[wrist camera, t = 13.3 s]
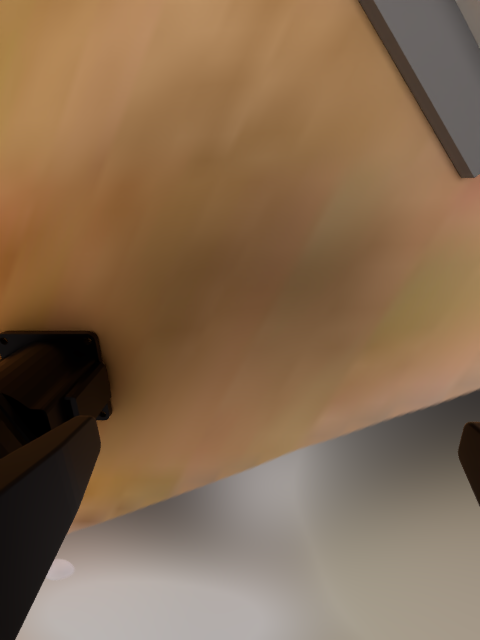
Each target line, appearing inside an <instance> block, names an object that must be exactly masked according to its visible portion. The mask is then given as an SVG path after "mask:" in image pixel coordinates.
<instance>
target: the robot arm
mask: <svg viewBox="0 0 480 640" xmlns="http://www.w3.org/2000/svg"><path fill="white" fill-rule="evenodd" d="M4 338H6V339H7V341H8V342H7V341H6V340H5V339H4ZM86 338H90V339H91V342H89V341H88V340H87V339H86ZM0 354H1V357H2V359H1V360H0V640H15V639H16V637H17V635H18V633H19V631H20V629H21V627H22V625H23V623H24V620H25V618H26V616H27V614H28V612H29V610H30V608H31V606H32V604H33V602H34V600H35V598H36V596H37V593H38V592H39V590H40V587H41V586H42V583H43V581H44V579H45V577H46V575H47V573H48V571H49V569H50V567H51V565H52V563H53V561H54V559H55V557H56V555H57V553H58V551H59V548H60V546H61V544H62V542H63V540H64V538H65V536H66V534H67V532H68V530H69V528H70V526H71V524H72V522H73V520H74V518H75V515H76V513H77V511H78V509H79V506H80V504H81V501H82V499H83V496H84V493H85V490H86V488H87V485H88V482H89V479H90V477H91V474H92V471H93V469H94V466H95V463H96V460H97V458H98V455H99V452H100V448H101V441H100V436H99V432H98V427H97V422H96V420H107V419H108V418H109V417H110V415H111V414H112V409H111V404H110V398H111V392H110V386H109V381H108V376H107V371H106V366H105V364H104V363H103V362H102V357H101V351H100V346H99V341H98V337H97V335H96V334H95V333H93V332H90V331H6V332H2V333H1V334H0ZM102 411H104V412H105V413H106V414H104V413H102ZM458 456H459V460H460V462H461V465H462V467H463V469H464V471H465V474H466V476H467V478H468V481H469V483H470V485H471V488H472V490H473V492H474V494H475V497H476V499H477V501H478V503H479V506H480V422H468V423H466V424H465V426H464V429H463V432H462V436H461V440H460V445H459V449H458Z"/></svg>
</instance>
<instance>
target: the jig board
mask: <svg viewBox="0 0 480 640" xmlns="http://www.w3.org/2000/svg"><path fill="white" fill-rule="evenodd" d="M359 2H360V4H361V5H362V7H363V9H364V11H365V12H366V14H367V16H368V18H369V19H370V21H371V23H372V24H373V26H374V28H375V30H376V31H377V33H378V35H379V36H380V38H381V40H382V42H383V43H384V45H385V47H386V49H387V50H388V52H389V54H390V55H391V57H392V59H393V61H394V62H395V64H396V66H397V68H398V69H399V71H400V73H401V74H402V76H403V78H404V80H405V81H406V83H407V85H408V87H409V88H410V90H411V92H412V93H413V95H414V97H415V99H416V100H417V102H418V104H419V106H420V107H421V109H422V111H423V112H424V114H425V116H426V118H427V119H428V121H429V123H430V124H431V126H432V128H433V130H434V131H435V133H436V135H437V137H438V138H439V140H440V142H441V143H442V145H443V147H444V149H445V150H446V152H447V154H448V156H449V157H450V159H451V161H452V162H453V164H454V166H455V168H456V169H457V171H458V173H459V175H460V176H461V178H475V177H476V176H478V175H479V174H480V0H359Z"/></svg>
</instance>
